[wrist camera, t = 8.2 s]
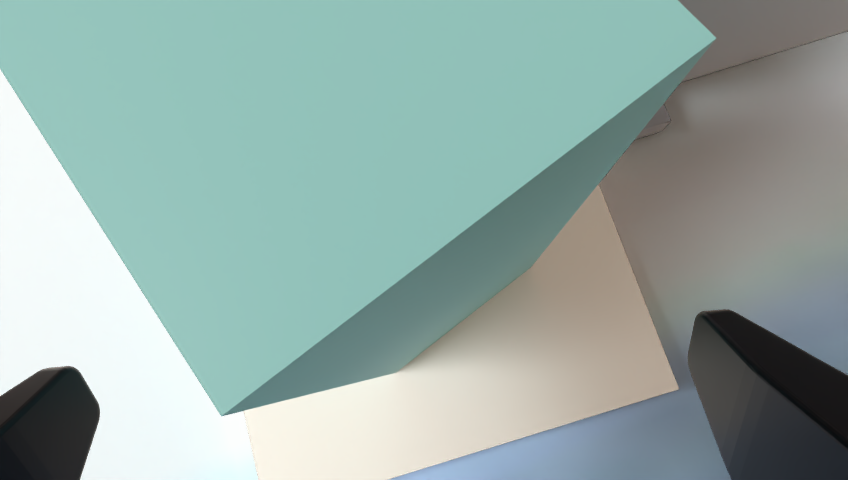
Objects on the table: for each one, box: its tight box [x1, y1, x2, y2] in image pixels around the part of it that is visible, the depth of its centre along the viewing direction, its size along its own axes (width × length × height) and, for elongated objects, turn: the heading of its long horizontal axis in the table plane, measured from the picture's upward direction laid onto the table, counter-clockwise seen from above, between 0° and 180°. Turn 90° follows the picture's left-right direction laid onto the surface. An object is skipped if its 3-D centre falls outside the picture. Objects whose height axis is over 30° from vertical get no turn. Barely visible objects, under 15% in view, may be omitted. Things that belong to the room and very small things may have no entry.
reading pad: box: [244, 184, 679, 480], centre depth 17 cm, size 12×12×1 cm
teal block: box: [0, 0, 716, 416], centre depth 11 cm, size 5×5×12 cm
